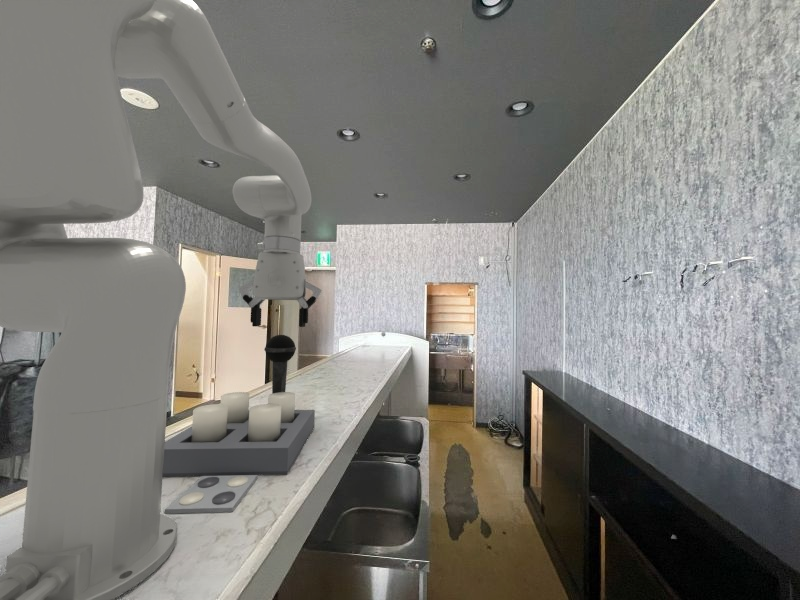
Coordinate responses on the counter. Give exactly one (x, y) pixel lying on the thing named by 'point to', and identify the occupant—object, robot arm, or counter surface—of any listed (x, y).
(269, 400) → the button far right
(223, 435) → the button near left
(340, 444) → the counter surface
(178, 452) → the board
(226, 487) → the tile
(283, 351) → the microphone
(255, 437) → the button near right
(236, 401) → the button far left
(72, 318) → the robot arm
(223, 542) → the counter surface
